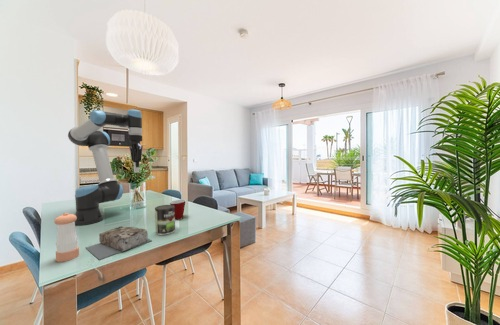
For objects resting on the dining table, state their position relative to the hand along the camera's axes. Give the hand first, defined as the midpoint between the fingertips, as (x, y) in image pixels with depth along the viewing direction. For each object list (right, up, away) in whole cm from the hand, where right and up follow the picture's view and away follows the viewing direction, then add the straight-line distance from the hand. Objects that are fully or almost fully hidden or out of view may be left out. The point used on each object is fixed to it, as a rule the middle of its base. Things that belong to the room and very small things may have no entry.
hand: (136, 172), depth 126 cm
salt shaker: (-6, -35, -41) cm, 54 cm away
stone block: (0, -31, -23) cm, 38 cm away
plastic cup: (+23, -32, +10) cm, 40 cm away
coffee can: (+24, -33, -14) cm, 43 cm away
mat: (+9, -34, -29) cm, 46 cm away
